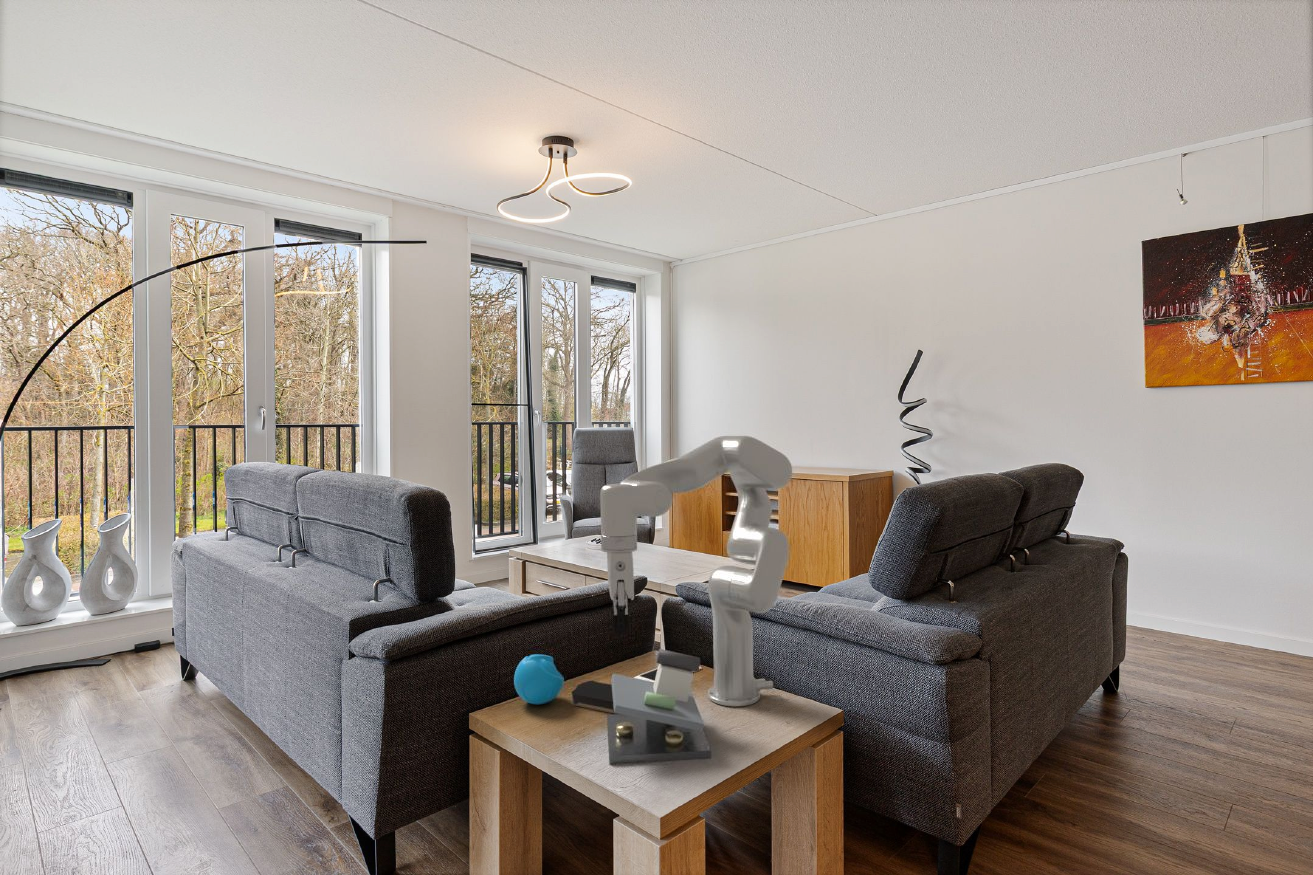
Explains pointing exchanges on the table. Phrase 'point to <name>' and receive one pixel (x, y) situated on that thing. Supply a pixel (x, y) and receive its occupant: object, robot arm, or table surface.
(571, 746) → the table surface
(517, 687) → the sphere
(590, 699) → the black sponge
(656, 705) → the plate
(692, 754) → the levelling stand
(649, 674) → the cell phone
